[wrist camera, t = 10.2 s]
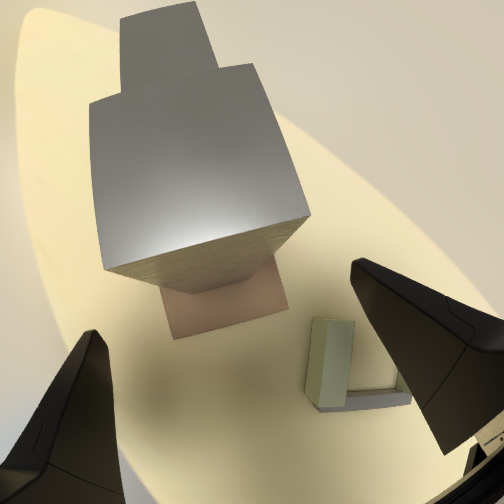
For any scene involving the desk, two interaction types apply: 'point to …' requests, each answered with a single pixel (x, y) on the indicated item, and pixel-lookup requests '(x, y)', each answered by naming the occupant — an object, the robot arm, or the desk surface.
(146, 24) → the stepped metal bracket
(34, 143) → the desk surface
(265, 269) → the walnut board
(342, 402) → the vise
